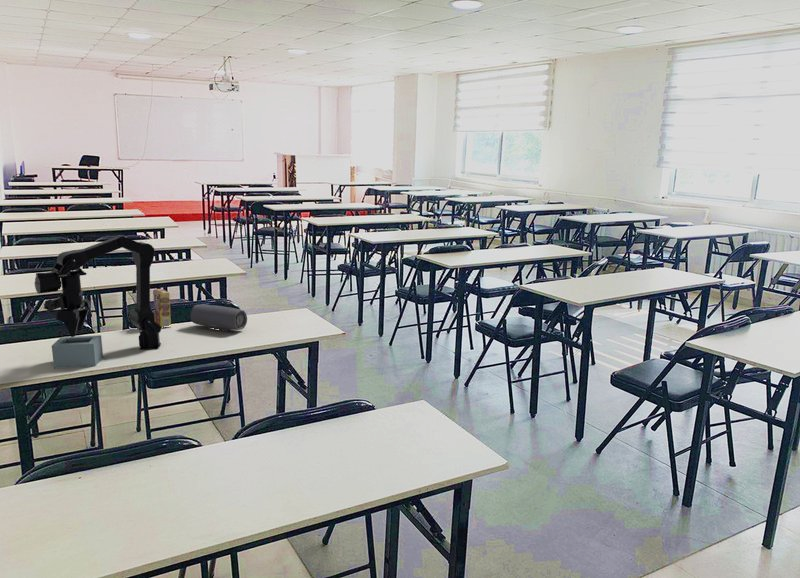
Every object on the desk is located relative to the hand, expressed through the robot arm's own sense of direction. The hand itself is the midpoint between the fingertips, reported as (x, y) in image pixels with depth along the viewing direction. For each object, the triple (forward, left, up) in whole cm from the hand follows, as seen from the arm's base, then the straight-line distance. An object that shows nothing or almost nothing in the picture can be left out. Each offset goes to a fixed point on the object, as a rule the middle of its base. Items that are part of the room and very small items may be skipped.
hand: (76, 333), depth 208 cm
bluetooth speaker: (-45, -35, -11) cm, 57 cm away
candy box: (-21, -44, -11) cm, 50 cm away
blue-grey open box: (0, 0, -10) cm, 10 cm away
